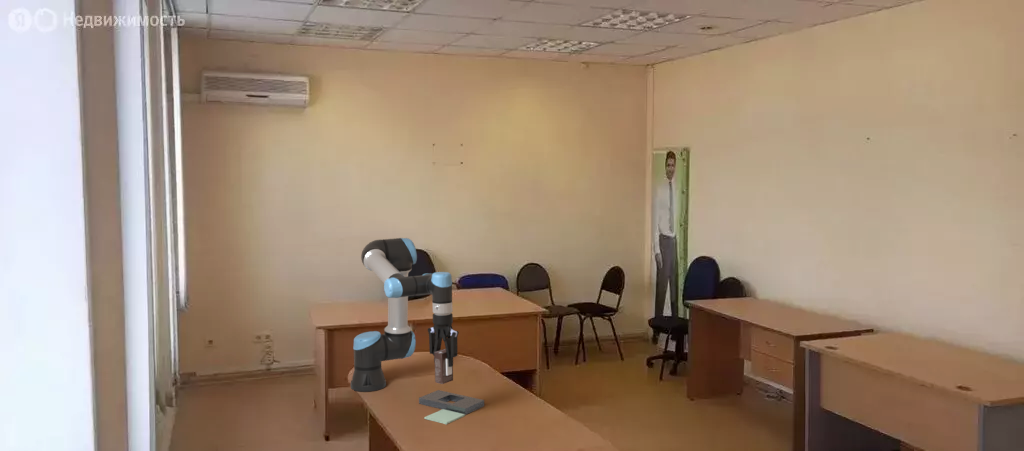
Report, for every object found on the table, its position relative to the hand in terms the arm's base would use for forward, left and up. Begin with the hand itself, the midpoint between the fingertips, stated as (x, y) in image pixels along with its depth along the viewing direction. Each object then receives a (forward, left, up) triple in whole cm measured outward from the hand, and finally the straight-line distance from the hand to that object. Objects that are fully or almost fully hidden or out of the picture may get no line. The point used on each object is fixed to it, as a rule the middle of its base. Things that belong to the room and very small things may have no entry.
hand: (443, 373), depth 285 cm
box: (0, 0, -3) cm, 3 cm away
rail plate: (-7, +13, -17) cm, 22 cm away
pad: (0, 0, -17) cm, 17 cm away
